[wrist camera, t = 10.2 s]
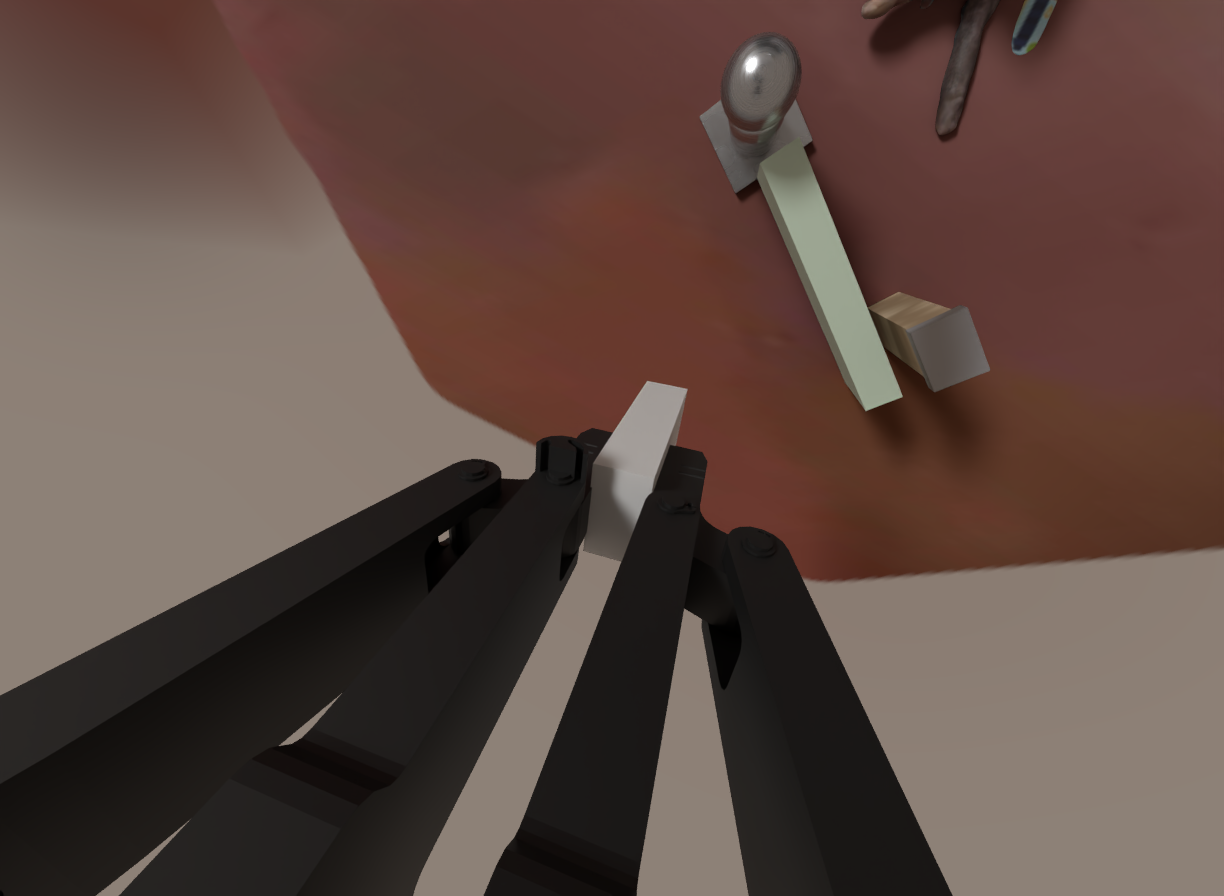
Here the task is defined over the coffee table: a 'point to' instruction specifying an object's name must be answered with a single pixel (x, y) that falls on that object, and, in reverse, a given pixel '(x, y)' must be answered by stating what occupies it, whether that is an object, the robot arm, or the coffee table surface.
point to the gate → (827, 274)
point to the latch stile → (930, 339)
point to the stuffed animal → (972, 46)
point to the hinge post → (756, 107)
